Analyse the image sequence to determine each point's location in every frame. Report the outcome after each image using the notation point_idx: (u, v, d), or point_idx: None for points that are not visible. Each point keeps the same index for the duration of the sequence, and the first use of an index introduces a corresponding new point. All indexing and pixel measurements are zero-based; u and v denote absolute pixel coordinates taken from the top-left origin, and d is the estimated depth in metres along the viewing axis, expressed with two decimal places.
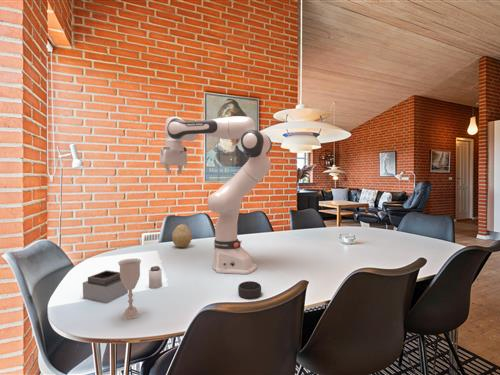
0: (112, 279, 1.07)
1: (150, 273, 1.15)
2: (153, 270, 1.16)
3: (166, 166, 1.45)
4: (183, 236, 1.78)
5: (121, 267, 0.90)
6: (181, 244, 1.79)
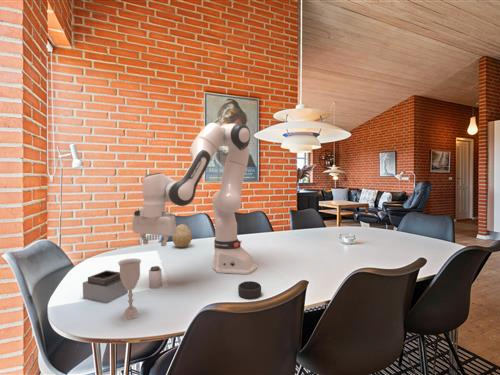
0: (112, 279, 1.07)
1: (150, 273, 1.15)
2: (153, 270, 1.16)
3: (167, 237, 1.15)
4: (183, 236, 1.78)
5: (121, 267, 0.90)
6: (181, 244, 1.79)
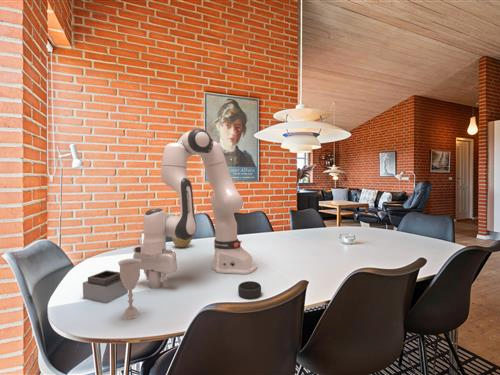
0: (112, 279, 1.07)
1: (150, 273, 1.15)
2: None
3: (164, 273, 1.16)
4: None
5: (121, 267, 0.90)
6: (181, 244, 1.79)
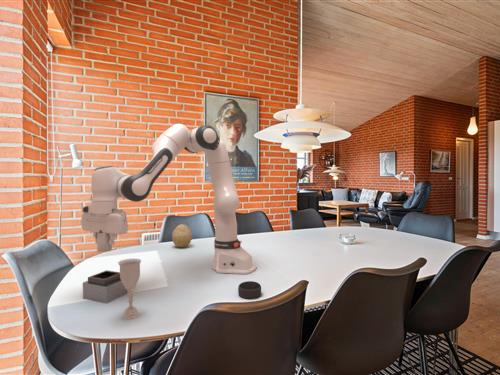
0: (112, 279, 1.07)
1: (98, 235, 1.06)
2: (101, 231, 1.06)
3: (114, 235, 1.06)
4: (183, 236, 1.78)
5: (121, 267, 0.90)
6: (181, 244, 1.79)
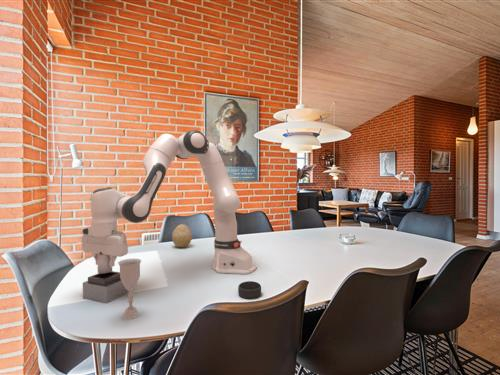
0: (112, 279, 1.07)
1: (98, 256, 1.06)
2: (101, 253, 1.06)
3: (114, 257, 1.07)
4: (183, 236, 1.78)
5: (121, 267, 0.90)
6: (181, 244, 1.79)
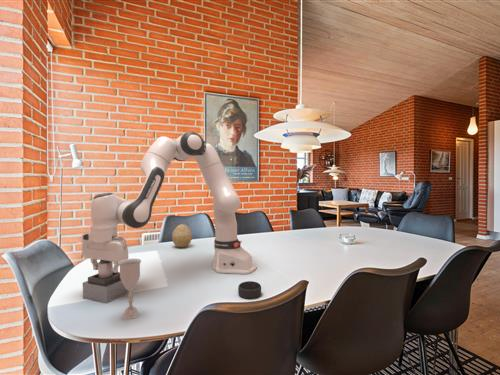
0: (112, 279, 1.07)
1: (99, 265, 1.06)
2: (102, 262, 1.07)
3: None
4: (183, 236, 1.78)
5: (121, 267, 0.90)
6: (181, 244, 1.79)
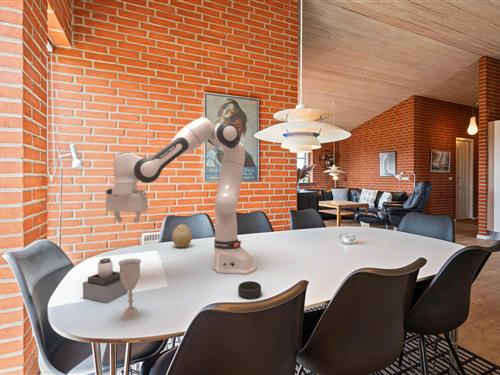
0: (112, 279, 1.07)
1: (99, 265, 1.06)
2: (102, 262, 1.07)
3: (139, 213, 1.19)
4: (183, 236, 1.78)
5: (121, 267, 0.90)
6: (181, 244, 1.79)
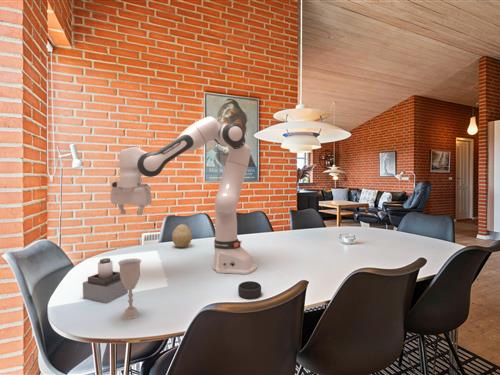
0: (112, 279, 1.07)
1: (99, 266, 1.06)
2: (102, 262, 1.07)
3: (142, 206, 1.22)
4: (183, 236, 1.78)
5: (121, 267, 0.90)
6: (181, 244, 1.79)
